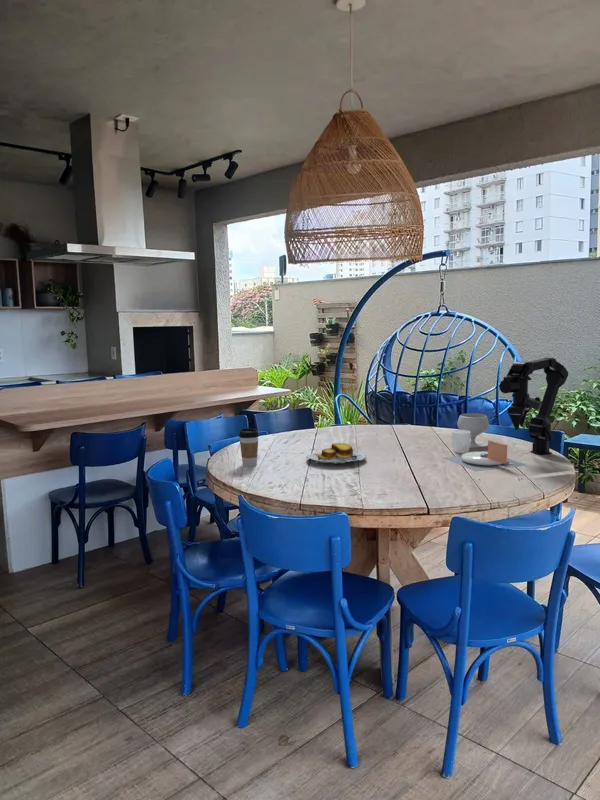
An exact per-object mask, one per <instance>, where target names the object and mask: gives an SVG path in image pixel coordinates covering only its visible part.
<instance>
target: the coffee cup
mask: <svg viewBox="0 0 600 800" xmlns="http://www.w3.org/2000/svg"><path fill="white" fill-rule="evenodd" d="M238 437H239V448H240V454H241V461H242V466H243V467H247V466H248V467H250V466H251V467H255V465H256V466H257V464H258V450H259V437H260V435H259V430H258V429H255V428H250V427H249V428H241V429H239V434H238ZM251 467H250V468H251Z"/></svg>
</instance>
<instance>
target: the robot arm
mask: <svg viewBox="0 0 600 800" xmlns="http://www.w3.org/2000/svg"><path fill="white" fill-rule="evenodd" d="M539 370H543V372H544V374H545V382H546V388H545V392H544V394H543V397H542V400H541V397H539V396H536V397H535V398H534V397H530V393H529V381H532V378H531V377H530V375H532V374H534V372H535V371H539ZM568 377H569V371H568V370H567V368H566V367H565V366H564V365H563V364H561V363H560V362H559V361H557V359H556V358H554V357H543V358H539V359H535V360H529V361H519V360H518V361H514V362H513V363H512V364H511V366H510V368H509V370H508V371H507V374H506V376H504V377H503V379H502V380H501V381H500V383H499V384H498V388H499V391H500V392H501V393H502V394H511V397H512V403H511V405H510V406H509V407H507V411H506V412H507V414H508V416H509V418H510V421H511V423H512V425H513V427H514V430H515V431H518V430H519V428H520V427H524V425H525V421H526V418H527V416H528V415H527V414H528V413H529V412H530V411H532V409H533V410H535V411H538V412H537V415H536V416H535V417H534V416H532V417H531V419H530V422H529V424H528V433H529V438H530V439H532V440H533V442H532V448H531V449H532V450H530V452H531V453H533V454H538V455H549V454H553V452H552V451H550V445H551V444H550V443H551V442H552V441H554V439H555V434H554V433H553V431H552V429H551V427H552V424H551V421H550V417H551V415H552V411H553V409H554V405H555V401H556V399H557V397H558V394H559V393H558V392H559V390H560V388H561V387H562V386H563V385H564V384H565V383H566V382H567V379H568Z"/></svg>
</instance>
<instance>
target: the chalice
mask: <svg viewBox="0 0 600 800" xmlns="http://www.w3.org/2000/svg"><path fill="white" fill-rule="evenodd" d="M456 425H457V428H458V430H467V431H470V446H469V449H471V448H472V449H473V448H479V447H480V448H481V447H486V445H485V444H481V443H477V442H476V438H477V436H479V435H481V434H483V433H485V432H486V431H488V429H489V427H490V422H489V419H488V416H487V415H486V414H483V413H476V412H475V413H474V412H472V413H471V412H469V413H461V414H460V415H459V417H458V419H457V424H456Z"/></svg>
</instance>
